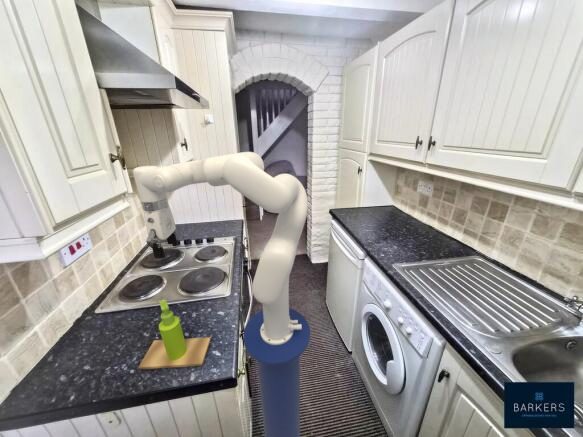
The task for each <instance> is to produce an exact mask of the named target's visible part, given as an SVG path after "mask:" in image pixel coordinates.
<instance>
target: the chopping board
mask: <svg viewBox="0 0 583 437" xmlns="http://www.w3.org/2000/svg"><path fill="white" fill-rule="evenodd" d="M184 340H185V344H186V347H187V351H186V353H185V354H184V356H182V357H181V358H180V359H177V360H170V359H169V358H168V356H167V353H166V350H165V346H164V343H163V340H162V339H155V340H153V342H152V343H151V345H150V347H148V348H149V349H148V350H147V352H146V353H145V355H144V357H143V359H142V360H141V362H140V363H139V366H138V370H154V369H169V368H186V367H187V368H189V367H202V366H203V365H204V362H205V359H206V356H207V352H208V350H209V346H210V343H211V340H212V337H210V336H208V337H190V338H184Z"/></svg>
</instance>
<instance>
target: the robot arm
mask: <svg viewBox="0 0 583 437" xmlns="http://www.w3.org/2000/svg"><path fill="white" fill-rule="evenodd" d="M264 170H265V163H264V160H263V159H262V157H261V156H260V155H259V154H258V153H256V152H253V151H241V152H235V153H229V154H224V155H216V156H211V157H206V158H203V159H197V160H190V161H183V162H179V163H173V164H170V165H165V166H162V167H159V166H157V165H141V166H137V167H134V168H133V170H132V174H133V178H134V182H135V185H136V189H137V193H138V197H139V200H140V204H141V208H142V211H143V212H144V221H145V222H144V223H145V228H146V231H147V232H146V233H147V238H146V240H145V242H146V243H147V245H148V246H149V247H150V249H152V253H153V257H154V258H155V259H164V258H165V257H166V253H165V250H164V247H163V246H162V243H163V241H166V242H167V245H177V244H178V240H177V235H176V230H177V229H176V228H177V227H176V222H175V218H174V216H173V212H172V210H171V208H170V205H169V200H168V196H167V193H168V194H169V193H172V192H174V191H177V190H179V189H182V188H184V187H187V186H190V185H196V184H204V183H207V184H208V185H210V186H211V187H222V186H230V187H232V189H234V190H235V191H236V192H238V193H240V194H241V195H242V196H243V197H245V198H247V199H248V200H250V201H251V202H252V203H254V204H256V205H257V206H259V207H260V208H262V209H263V210H265V211H266V212H269V213H273V214H277V218H276V222H275V224H274V228H273V230H272V234H271V235H270V238H269V240H267V243H266V245H265V247H264V249H263V250H262V252H261V254H260V258H259V261H258V264H257V267H256V271H255V274H254V277H253V282H252V285H251V292H252V295H253V297H254V299H255V300H256V301H257V302H259V303H261V304H262V305H261V306H262V311H263V318H264V323H263V324H262V326H261V329H260V333H261V337H262V339H263V340H264V341H265V342H266V343H268V344H270V345H281V344H284V343H286V342H287V341H289V340H290V339H291V337H292V335H293V331H294V330H302V326H301V324H298V320H290V316H289V308H290V293H289V292H290V289H289V288H290V287H289V286H290V276H291V275H290V274H291V273H292V269H293V266H294V262H295V260H296V256H297V250H298V246H299V241H300V240H301V239H300V238H301V236H302V233H303V229H304V227H305V224H306V220H307V216H308V211H309V200H308V199H309V198H308V195H307V191H306V189H305V187H304V186H303V183H302V182H301V181H300V180H299V179H298V178H297V177H296V176H294V175H292V174H289V173H280V174H278V175H276V176H271V175H270V174H269V173H267V172H266V171H264ZM293 324H297V325H293Z"/></svg>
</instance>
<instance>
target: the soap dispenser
mask: <svg viewBox="0 0 583 437" xmlns="http://www.w3.org/2000/svg"><path fill="white" fill-rule="evenodd" d="M158 302H159V305H160V309H161V312H162V313H161V315H160V320H161V321H160V322H159V324H158V329H159V333H160V336H161V340H163V343H164V346H165V350H166V353H167V356H168V358H169V359H170V360H177V359H180V358H181V357H182V356H184V354H185V353H186V351H187V347H186V344H185V340H184V339H185V337H184V332H183V328H182V324H181V321H180V318H179V316H177V315H174V312H173V311H172V310H170V306H169V304H168V302H167V298H164V299H161V300H159V301H158Z"/></svg>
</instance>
